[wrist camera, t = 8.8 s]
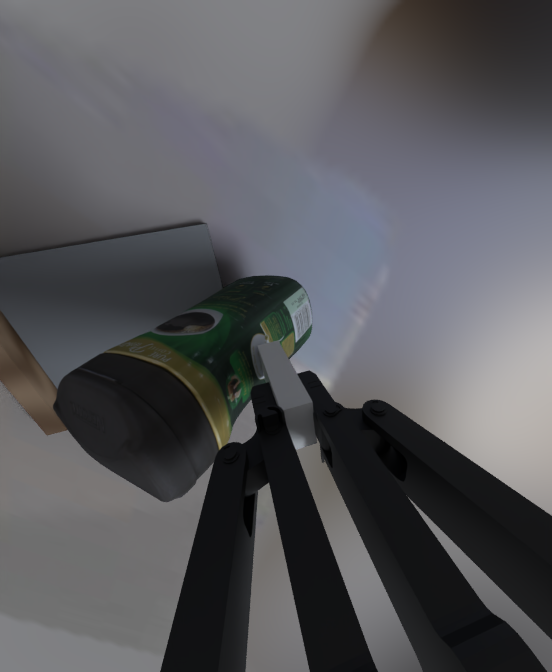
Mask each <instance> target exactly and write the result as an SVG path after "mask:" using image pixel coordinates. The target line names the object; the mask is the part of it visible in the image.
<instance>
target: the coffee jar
mask: <svg viewBox="0 0 552 672" xmlns="http://www.w3.org/2000/svg"><path fill="white" fill-rule="evenodd" d="M311 330H312V311H311V305H310V301H309V298H308V295H307V293H306V291H305V289H304V288H303V287H302V286H301V285H300V284H299V283H298V282H297V281H295V280H293V279H291V278H288V277H282V276H252V277H246V278H242V279H239V280H237V281H235V282H233V283H231V284H230V285H228V286H226V287H224V288H223V289H221V290H220V291H218V292H216V293H215V294H213V295H211V296H210V297H208V298H207V299H205V300H203V301H201V302H200V303H198V304H196V305H194V306H193V307H191V308H189V309H188V310H186V311H184V312H182V313H181V314H179V315H177V316H175V317H174V318H172V319H170V320H168V321H166V322H165V323H163V324H161V325H159V326H157V327H155V328H153V329H152V330H150V331H148V332H145V333H143V334H141V335H139V336H137V337H135V338H133V339H130V340H128V341H126V342H124V343H122V344H120V345H117V346H115V347H113V348H111V349H109V350H107V351H105V352H103V353H101V354H99V355H97V356H96V357H94V358H92V359H91V360H89V361H87V362H86V363H84V364H83V365H81V366H79V367H78V368H76V369H74V370H73V371H71V372H70V373H68V374H67V375H65V376H64V377H63V379H62V380H61V382H60V384H59V386H58V390H57V396H56V400H55V402H54V404H53V410H54V411H55V413H56V414H57V416H58V417H59V419H60V420H61V421H62V423H63V424H64V425H65V427H66V428H67V429H68V431H69V432H70V433H71V435H72V436H73V437H74V438H75V440H76V441H77V442H78V443H79V444H80V446H81V447H82V448H83V449H84V450H85V451H86V452H87V453H88V454H89V455H90V456H91V457H92V458H94V459H95V460H96V461H98V462H99V463H100V464H102V465H103V466H105V467H106V468H108V469H109V470H111V471H112V472H114V473H116V474H117V475H119V476H121V477H122V478H124V479H126V480H127V481H129V482H131V483H132V484H134V485H136V486H137V487H139V488H141V489H142V490H144V491H146V492H147V493H149V494H151V495H152V496H154V497H156V498H157V499H159V500H160V501H163V502H169V501H172V500H174V499H176V498H180V497H182V496H183V495H185V494H186V493H187V492H188V491H189V490H190V489H191V488H192V487H193V486H194V485H195V483H196V480H197V479H198V478H199V477H200V476H201V475H202V474H203V473H204V472H205V471H206V470H207V469H208V468H209V467H210V465H211V464H212V463H213V462H214V460H215V457H216V455H217V452H218V451H219V450H220V449H221V448H222V447H223V446H224V445H226V444H227V443H228V440H229V438H230V435H231V431H232V427H233V425H234V422H235V421H236V419H237V417H238V416H239V414H240V413H241V412H242V410H243V409H244V408H245V406H246V405H247V404H248V403H249V401H250V400H251V394H250V392H251V389H252V387H253V386H256V385H260V384H263V383H266V382H265V378H264V374H263V369H262V364H261V360H260V355H259V351H258V346H257V345H261V344H265V343H270V342H274V341H279V343H280V344H281V346H282V348H283V350H284V352H285V353H286V355H287V357H288V359H290V358H291V357H292V356H293V355H294V354H295V353H296V352H297V351H298V350H299V349H300V348H301V346H302V345H303V344H304V343H305V342H306V340H307V339H308V338H309V336H310V334H311Z"/></svg>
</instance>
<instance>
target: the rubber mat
mask: <svg viewBox="0 0 552 672" xmlns="http://www.w3.org/2000/svg"><path fill="white" fill-rule="evenodd" d="M221 289H223V286H222V282H221V278H220V275H219V271H218V267H217V263H216V259H215V255H214V251H213V247H212V243H211V239H210V235H209V231H208V227H207V224H201V225H195V226H189V227H183V228H176V229H170V230H164V231H158V232H152V233H146V234H140V235H134V236H128V237H122V238H116V239H110V240H104V241H98V242H92V243H86V244H79V245H73V246H67V247H61V248H55V249H49V250H43V251H37V252H31V253H25V254H19V255H13V256H7V257H1V258H0V310H1V312H2V313H3V314H4V316H5V317H6V318H7V320H8V321H9V323H10V324H11V325H12V327H13V328H14V330H15V331H16V332H17V334H18V335H19V337H20V338H21V339H22V341H23V342H24V343H25V345H26V346H27V348H28V349H29V350H30V352H31V353H32V355H33V356H34V357H35V359H36V360H37V362H38V363H39V364H40V366H41V367H42V368H43V370H44V371H45V373H46V374H47V375H48V377H49V378H50V380H51V381H52V382H53V384H54V385H55V386H56V388H57V389H58V386H59V384H60V382H61V380H62V379H63V377H64V376H65V375H67V374H68V373H70V372H71V371H73V370H74V369H76V368H78V367H79V366H81V365H83V364H84V363H86V362H87V361H89V360H91V359H92V358H94V357H96V356H97V355H99V354H101V353H103V352H105V351H107V350H109V349H111V348H113V347H115V346H117V345H120V344H122V343H124V342H126V341H128V340H130V339H133V338H135V337H137V336H139V335H141V334H143V333H145V332H148V331H150V330H152V329H153V328H155V327H157V326H159V325H161V324H163V323H165V322H166V321H168V320H170V319H172V318H174V317H175V316H177V315H179V314H181V313H182V312H184V311H186V310H188V309H189V308H191V307H193V306H194V305H196V304H198V303H200V302H201V301H203V300H205V299H207V298H208V297H210V296H211V295H213V294H215V293H216V292H218V291H220V290H221Z"/></svg>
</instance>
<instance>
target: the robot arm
mask: <svg viewBox="0 0 552 672" xmlns="http://www.w3.org/2000/svg"><path fill="white" fill-rule="evenodd" d="M257 346H258V351H259V355H260V360H261V364H262V369H263V374H264V378H265V382H266V383H263V384H260V385H256V386H253V387H252V389H251V392H250V394H251V399H252V403H253V408H254V413H255V422H256V426H257V430H256V433H255V434H254V436H253V437H252V438H251V439H250V440H248V441H247V442H245V443H244V444H241V443H239V442H232V443H228V444H226V445H224V446H223V447H222V448H221V449H220V450H219V451H218V452H217V455H216V457H215V460H214V464H213V468H212V472H211V476H210V480H209V484H208V488H207V492H206V495H205V499H204V503H203V507H202V511H201V515H200V519H199V523H198V527H197V531H196V534H195V538H194V542H193V546H192V550H191V554H190V558H189V562H188V566H187V570H186V573H185V577H184V581H183V585H182V589H181V593H180V597H179V601H178V605H177V609H176V612H175V616H174V620H173V624H172V628H171V632H170V636H169V640H168V644H167V648H166V651H165V655H164V659H163V663H162V667H161V671H160V672H245V669H246V655H247V654H246V653H247V640H248V626H249V625H248V624H249V611H250V597H251V582H252V569H253V554H254V540H255V526H256V511H257V497H258V490H259V489H261V488H262V487H263V486H265V485H266V484H267V483H269V484H270V489H271V494H272V498H273V503H274V508H275V512H276V517H277V522H278V526H279V531H280V535H281V540H282V545H283V549H284V554H285V559H286V563H287V568H288V573H289V577H290V582H291V586H292V591H293V595H294V600H295V605H296V610H297V614H298V619H299V623H300V628H301V633H302V637H303V642H304V646H305V651H306V655H307V660H308V665H309V669H310V672H378V671H377V669H376V666H375V664H374V662H373V659H372V657H371V654H370V651H369V649H368V646H367V644H366V641H365V638H364V635H363V632H362V630H361V627H360V624H359V621H358V619H357V616H356V613H355V611H354V608H353V605H352V602H351V600H350V597H349V595H348V591H347V589H346V586H345V583H344V580H343V578H342V575H341V572H340V570H339V567H338V564H337V562H336V559H335V556H334V553H333V550H332V548H331V545H330V542H329V540H328V537H327V534H326V531H325V529H324V526H323V523H322V521H321V518H320V515H319V512H318V510H317V507H316V504H315V501H314V499H313V496H312V493H311V490H310V488H309V485H308V482H307V480H306V477H305V474H304V471H303V469H302V466H301V463H300V460H299V458H298V455H297V452H296V449H300V448H303V447H306V446H309V445H312V444H315V443H317V439H318V441H319V443H320V450H321V459H322V462H324V459H325V461H326V464H327V466H328V467H329V470H330V472H331V474H332V476H333V478H334V481H335V483H336V485H337V487H338V489H339V491H340V493H341V495H342V498H343V500H344V502H345V504H346V506H347V508H348V510H349V513H350V515H351V517H352V519H353V521H354V523H355V525H356V527H357V530H358V532H359V534H360V536H361V538H362V540H363V543H364V545H365V547H366V549H367V551H368V553H369V555H370V557H371V560H372V562H373V564H374V566H375V568H376V570H377V572H378V575H379V577H380V579H381V581H382V583H383V585H384V587H385V589H386V592H387V593H388V596H389V598H390V600H391V602H392V604H393V607H394V609H395V611H396V613H397V615H398V617H399V619H400V621H401V624H402V626H403V628H404V630H405V632H406V634H407V636H408V638H409V641H410V642H411V645H412V647H413V649H414V651H415V653H416V655H417V658H418V660H419V662H420V665H421V667H422V670H423V672H547V671H546V670H545V668H544V667H543V666H542V664H541V663H540V661H539V660H538V659H537V657H536V656H535V655H534V653H533V652H532V651H531V649H530V648H529V647H528V646H527V644H526V643H525V642H524V641H523V639H522V638H521V637H520V636H519V635H518V633H516V631H515V630H514V629H513V628H512V627H511V626H510V625H509V624H507V623H506V622H505V621H503V620H502V619H501V618H499V617H497V616H496V615H494V614H493V613H492V612H491V611H490V610H489V609H487V607H486V606H485V605H484V604H483V602H482V601H481V600H480V599H479V597H478V596H477V594H476V593H475V591H474V590H473V589H472V587H471V586H470V584H469V583H468V582H467V580H466V579H465V577H464V576H463V574H462V573H461V572H460V570H459V569H458V567H457V566H456V565H455V563H454V562H453V561H452V559H451V558H450V556H449V555H448V553H447V552H446V551H445V549H444V548H443V546H442V545H441V543H440V542H439V541H438V540H437V538H436V537H435V535H434V534H433V532H432V531H431V530H430V528H429V527H428V525H427V524H426V523H425V521H424V520H423V518H422V517H421V515H420V514H419V512H418V511H417V510H416V508H415V507H414V505H413V504H412V503H411V501H410V500H409V498H410V499H411V500H412V501H413V502H414V503H415V504H416V505H417V506H418V507H419V508H420V509H421V510H422V511H423V512H424V513H425V514H426V515H427V516H428V517H429V518H430V519H431V520H432V521H433V522H434V523H435V524H436V525H437V526H438V527H439V528H440V529H441V530H442V531H443V532H444V533H445V534H446V535H447V536H448V537H449V538H450V539H451V540H452V541H453V542H454V543H455V544H456V545H457V546H458V547H459V548H460V549H461V550H462V551H463V552H464V553H465V554H466V555H467V556H468V557H469V558H470V559H471V560H472V561H473V562H474V563H475V564H476V565H477V566H478V567H479V568H480V569H481V570H482V571H483V572H484V573H486V575H487V576H488V577H489V578H490V579H491V580H492V581H493V582H494V583H495V584H496V585H497V586H498V587H499V588H500V589H501V590H502V591H503V592H504V593H505V594H506V595H507V596H508V597H509V598H510V599H511V600H512V601H513V602H514V603H515V604H516V605H518V607H519V608H521V609H522V611H524V613H525V614H527V615H528V617H529V618H530V619H532V620H533V622H535V623H536V624H537V625H538V626H539V627H540V628H541V629H542V630H543V631H544V632H545V633H546V634H547V635H548V636H549V637H550V638H551V639H552V516H551V515H550V514H548V513H546V512H545V511H544V510H542V509H541V508H539V507H538V506H537V505H535V504H534V503H532V502H531V501H529V500H528V499H526V498H525V497H523V496H522V495H521V494H519V493H518V492H516V491H515V490H513V489H512V488H510V487H509V486H507V485H506V484H505V483H503V482H502V481H500V480H499V479H497V478H496V477H494V476H493V475H491V474H490V473H489V472H487V471H486V470H484V469H483V468H481V467H480V466H478V465H477V464H475V463H474V462H473V461H471V460H470V459H468V458H467V457H465V456H464V455H462V454H461V453H459V452H458V451H457V450H455V449H454V448H452V447H451V446H449V445H448V444H446V443H445V442H443V441H442V440H440V439H439V438H438V437H436V436H435V435H433V434H432V433H430V432H429V431H427V430H426V429H424V428H423V427H422V426H420V425H419V424H417V423H416V422H414V421H413V420H411V419H410V418H408V417H407V416H406V415H404V414H403V413H401V412H400V411H398V410H397V409H395V408H394V407H392V406H391V405H390V404H388V403H386V402H384V401H381V400H370V401H367V402H365V404H363V408H360V409H349V408H344V407H343V406H342V405H341V404H339V403H337V402H335V401H334V400H333V399H332V397H331V396H330V394H329V393H328V391H327V390H326V388H325V387H324V386H323V384H322V383H321V381H320V380H319V378H318V377H317V375H316V374H314V373H313V372H311V371H306V372H302V373H298V374H297V373H296V371H295V369H294V368H293V366H292V364H291V362H290V360H289V359H288V357H287V355H286V353H285V352H284V350H283V348H282V346H281V344H280V343H279V341H274V342H270V343H265V344H261V345H257ZM316 437H317V439H316ZM406 495H407V496H408V497H409V498H408V497H407V496H406Z"/></svg>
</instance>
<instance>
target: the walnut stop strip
mask: <svg viewBox="0 0 552 672" xmlns="http://www.w3.org/2000/svg"><path fill="white" fill-rule="evenodd" d="M0 380H1V381H2V383H3V384H4V385H5V386H6V387H7V389H8V390H9V391H10V392H11V393H12V395H13V396H14V397H15V398H16V399H17V400H18V402H19V403H20V404H21V405H22V406H23V408H24V409H25V410H26V411H27V412H28V414H29V415H30V416H31V417H32V418H33V419H34V421H35V422H36V423H37V424H38V425H39V427H40V428H41V429H42V430H43V431H44V433H45V434H46V435H51V434H54V433H58V432H62V431H66V430H67V428H66V427H65V425H64V424H63V423H62V421H61V420H60V419H59V417H58V416H57V414H56V413H55V411H54V410H53V404H54V402H55V400H56V396H57V390H58V389H57V388H56V386H55V385H54V384H53V382H52V381H51V380H50V378H49V377H48V375H47V374H46V373H45V371H44V370H43V368H42V367H41V366H40V364H39V363H38V362H37V360H36V359H35V357H34V356H33V355H32V353H31V352H30V350H29V349H28V348H27V346H26V345H25V343H24V342H23V341H22V339H21V338H20V337H19V335H18V334H17V332H16V331H15V330H14V328H13V327H12V325H11V324H10V323H9V321H8V320H7V318H6V317H5V316H4V314H3V313H2V312H1V310H0Z"/></svg>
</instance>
